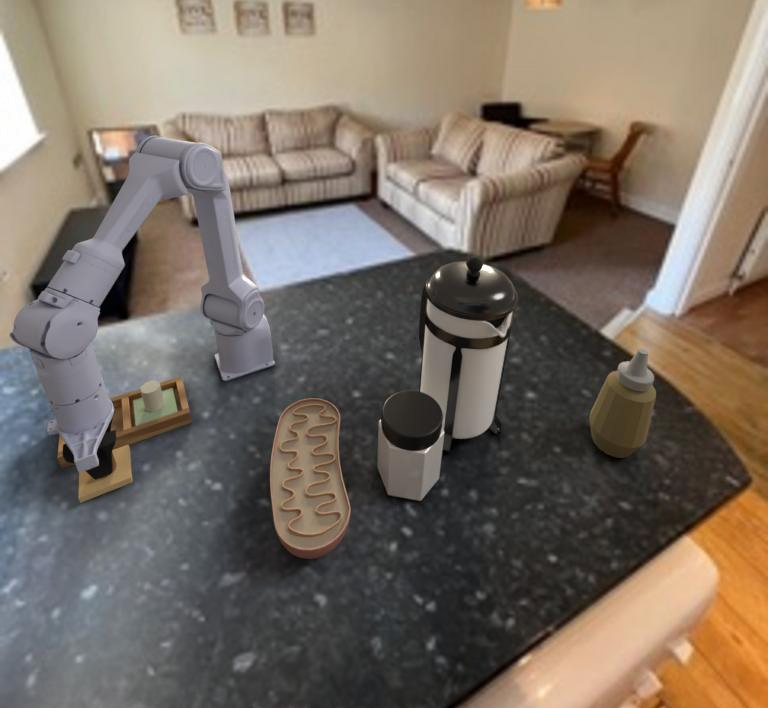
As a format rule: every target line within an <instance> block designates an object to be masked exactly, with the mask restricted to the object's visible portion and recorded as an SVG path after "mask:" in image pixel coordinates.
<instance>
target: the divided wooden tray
mask: <svg viewBox="0 0 768 708" xmlns="http://www.w3.org/2000/svg"><path fill="white" fill-rule="evenodd" d="M159 383H160V386H161V390H162V391H164V390H167V389H170V388H173V391H174V396H175V401H176V405H177V410H178V412H176V413H173V414H170V415H167V416H164V417H161V418H158V419H155V420H152V421H149V422H147V423H144V424H141V425H138V426H135V416H134V406H133V400H136V399H139V398H142V395H141V391H140V389H141V388H139V389H135V390H132V391H129V392H125V393H123V394H119V395H115V396H113V397H112V396H111V397H109V399H110V400H111V401H113V402H114V405H115V414H114V416H113V419H112V424H111V431H113V430H116V442H115V446H114V447H113V450H114V449H117V448H120V447H123V446H125V445H129V446H131V445H133V444H136V443H139V442H141V441H143V440H147V439H151V438H153V437H155V436H158V435H161V434H163V433H167V432H169V431H173V430H175V429H178V428H180V427H184V426H186V425H189V424H191V423H193V420H192V416H191V415H192V414H191V411H190V407H189V403H188V398H187V394H186V391H185V386H184V382H183V378H182V376H177V377H174V378H171V379H167V380H165V381H161V382H159ZM63 444H66V443H65V441H64V440H63V438H62V437H61V435H60V434H58V447H57V456H56V457H57V462H58V463H59V466H60V468H61V470H63V469H67V468H69V467H73V466H76V465H75V464H74V463H69V462H66V461H65V459H64V457H63V455H62V452H63Z"/></svg>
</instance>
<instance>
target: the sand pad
mask: <svg viewBox="0 0 768 708" xmlns="http://www.w3.org/2000/svg"><path fill="white" fill-rule="evenodd" d="M112 461H113V471H112V473H111V474H109V475H107V476H104V477H101V478H99V479H96V480H95V479H93V478H92V477H91V476H90V475H89V474H88V473H87V472H86V471H83V472H80V473H78V495H77V496H78V497H77V498H78V501H79V503H80V504H81V503H85V502H86V501H89V500H91V499H93V498H97V497H99V496H101V495H104V494H106V493H109V492H111V491H114V490H117V489H119V488H122V487H124V486H127V485H130V484H132V483H133V482H134V481H133V468H132V457H131V447H130V445H125V446H123V447H120V448H117V449H114V450H112Z"/></svg>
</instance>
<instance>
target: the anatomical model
mask: <svg viewBox="0 0 768 708" xmlns="http://www.w3.org/2000/svg"><path fill="white" fill-rule="evenodd" d="M340 429H341V413H340V411H339V409H338V408H337V407H336V406H335V405H334V404H333V403H332V402H330V401H328V400H326V399H322V398H319V397H318V398H316V397H315V398H314V397H309V398H304V399H300V400H297V401H295V402H293V403H291V404H290V405H288V406H287V407H286V408H285V409H284V410H283V412H282V413H281V414H280V416H279V419H278V422H277V425H276V429H275V434H274V438H273V443H272V450H271V455H270V465H269V466H270V467H269V488H270V490H269V491H270V502H271V511H272V519H273V525H274V530H275V532H276V534H277V537H278V540H279V542H280V543H281V545H282V546H283V547H284V548H285V549H286V550H287V551H288V553H290V554H291V555H293V556H295V557H297V558H301V559H306V560H313V559H318V558H322V557H323V556H326V555H328V554H329V553H331V552H332V551H334V550H335V549H336V548H337V547H338V545H339V544H340V543H341V541H342V540H343V538H344V537H345V535H346V533H347V530H348V527H349V524H350V520H351V519H350V518H351V514H352V512H351V510H352V509H351V504H350V503H351V502H350V500H349V497H348V492H347V489H346V486H345V481H344V478H343V477H344V476H343V473H342V472H343V471H342V467H341V460H340Z"/></svg>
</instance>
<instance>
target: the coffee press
mask: <svg viewBox="0 0 768 708" xmlns="http://www.w3.org/2000/svg"><path fill="white" fill-rule="evenodd" d="M420 297H421V298H420V308H419V309H420V310H419V311H420V312H419V322H418V323H419V324H418V340H419V341H418V342H419V347H420V351H421V359H420V360H421V361H420V375H419V385H418V391H419V392H422V393H425V394H427V395H429V396H431V397H432V398H433V399H435V400H436V401H437V403H438V404H439V405H440V407H441V409H442V413H443V420H442V429H443V430H444V441H443V450H442V453H445V454H447V455H448V454H449V455H450V453H451V448H452V443H453V439H459V440H463V439H464V440H466V439H472V438H475V437H478V436H481V435H482V434H483V433H485V432H486V431H487V430H489V431H490V432H491V433H492V434H493V435H500V434H501V433H502V427H503V424H502V423H501V421H500V419H499V418H498V416H497V412H498V405H499V399H500V393H501V387H502V381H503V375H504V371H505V366H506V360H507V354H508V349H509V345H510V344H509V343H510V337H511V332H512V327H513V320H514V317H513V312H514V310H515V309H516V307H517V306H518V300H519V294H518V291H517V290H516V288H515V286H514V283H513V282H512V280H511V279H510V277H509V276H508V275H507V274H506V273H504V272H503V271H501V270H500V269H498V268H496V267H495V266H491V265H489V264H486V263H484V262H483V260H482V258H480V257H479V256H477V255H473V256H470V257H469V258H468V259H467V260H466V261H465V260H464V261H463V260H461V261H454V262H451V263H447V264H444V265H442V266H440V267H439V268H438V269H436V270H435V272H434V273H433V274H432V275H431V276H430V277H429V278H428V280H427V281H426V284H424V286H423V288H422V292H421V296H420ZM493 421H494V424H495V425H494V424H493Z"/></svg>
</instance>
